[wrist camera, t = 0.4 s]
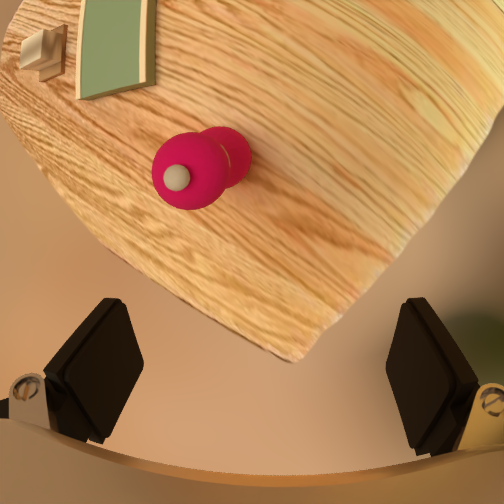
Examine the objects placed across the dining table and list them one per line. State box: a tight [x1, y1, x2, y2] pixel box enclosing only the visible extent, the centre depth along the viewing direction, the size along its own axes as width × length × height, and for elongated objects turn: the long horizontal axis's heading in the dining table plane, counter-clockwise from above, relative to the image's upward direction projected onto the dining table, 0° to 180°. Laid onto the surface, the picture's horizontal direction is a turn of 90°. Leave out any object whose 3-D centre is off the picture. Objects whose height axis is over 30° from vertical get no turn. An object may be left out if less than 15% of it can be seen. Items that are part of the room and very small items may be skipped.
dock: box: [76, 0, 157, 101], centre depth 29 cm, size 17×11×3 cm, turn 2°
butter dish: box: [19, 24, 68, 82], centre depth 28 cm, size 9×5×6 cm, turn 2°
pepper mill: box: [152, 126, 251, 210], centre depth 27 cm, size 7×7×20 cm
